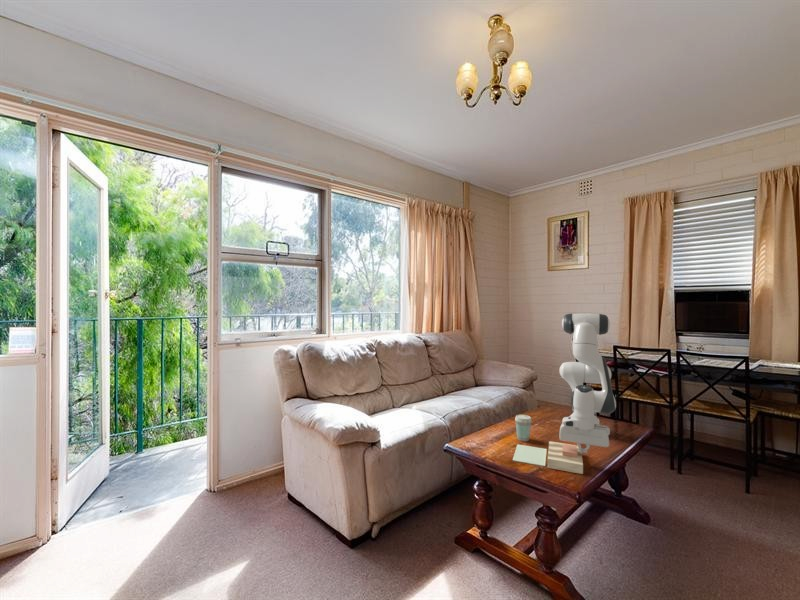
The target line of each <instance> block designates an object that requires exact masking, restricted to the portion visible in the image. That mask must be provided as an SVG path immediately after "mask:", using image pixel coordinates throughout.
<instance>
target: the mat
mask: <svg viewBox="0 0 800 600" xmlns="http://www.w3.org/2000/svg"><path fill="white" fill-rule="evenodd" d="M547 452H548V449H547V448H544V447H537V446H530V445H525V444H524V445H523V444H517V443H516V446H515V452H514V454H513V457H512V459H511V460H512V461H513V462H517V463H518V462H519V463H523V464H530V465H535V466H540V467H546V461H547V455H548V453H547Z"/></svg>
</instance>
